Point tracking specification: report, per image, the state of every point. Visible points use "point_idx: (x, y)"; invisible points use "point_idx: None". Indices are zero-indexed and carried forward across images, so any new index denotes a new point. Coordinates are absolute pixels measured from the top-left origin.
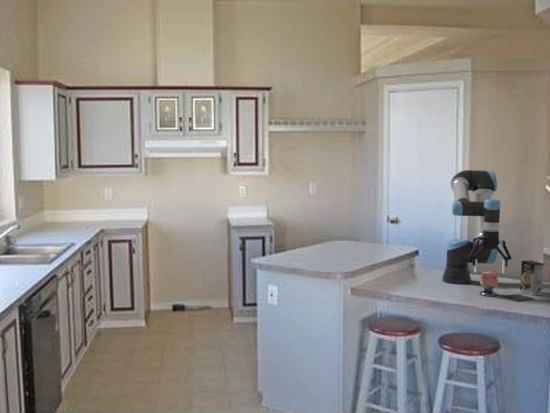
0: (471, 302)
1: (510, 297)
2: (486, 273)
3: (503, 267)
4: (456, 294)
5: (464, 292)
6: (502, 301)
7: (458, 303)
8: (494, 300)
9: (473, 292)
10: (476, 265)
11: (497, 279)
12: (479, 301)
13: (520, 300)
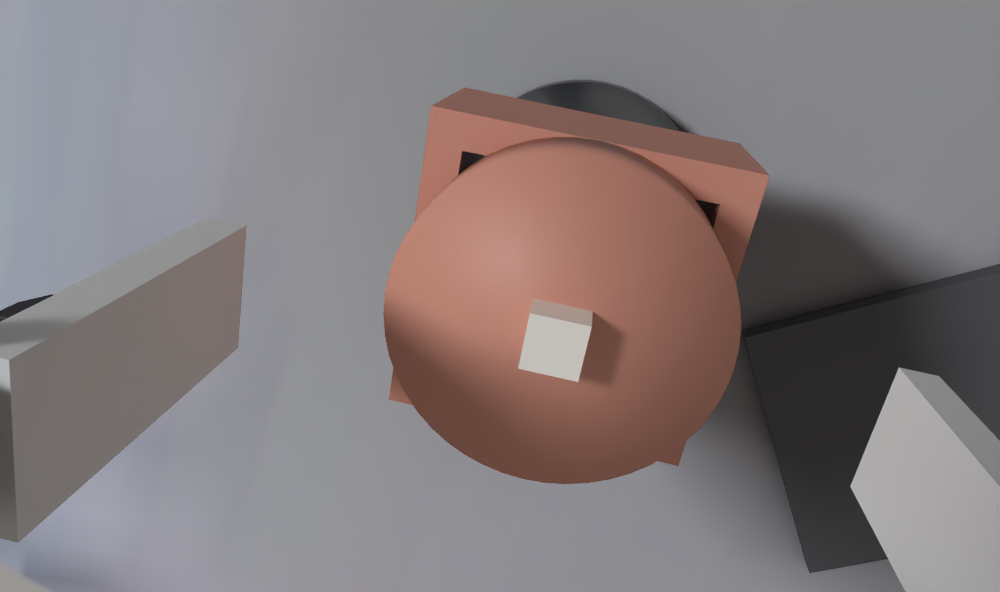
0: (234, 538)
1: (793, 444)
2: (476, 359)
3: (905, 589)
4: (130, 166)
5: (266, 45)
6: (611, 538)
7: (91, 557)
8: (532, 489)
9: (404, 48)
10: (130, 432)
11: (668, 455)
12: (334, 511)
13: (853, 560)
